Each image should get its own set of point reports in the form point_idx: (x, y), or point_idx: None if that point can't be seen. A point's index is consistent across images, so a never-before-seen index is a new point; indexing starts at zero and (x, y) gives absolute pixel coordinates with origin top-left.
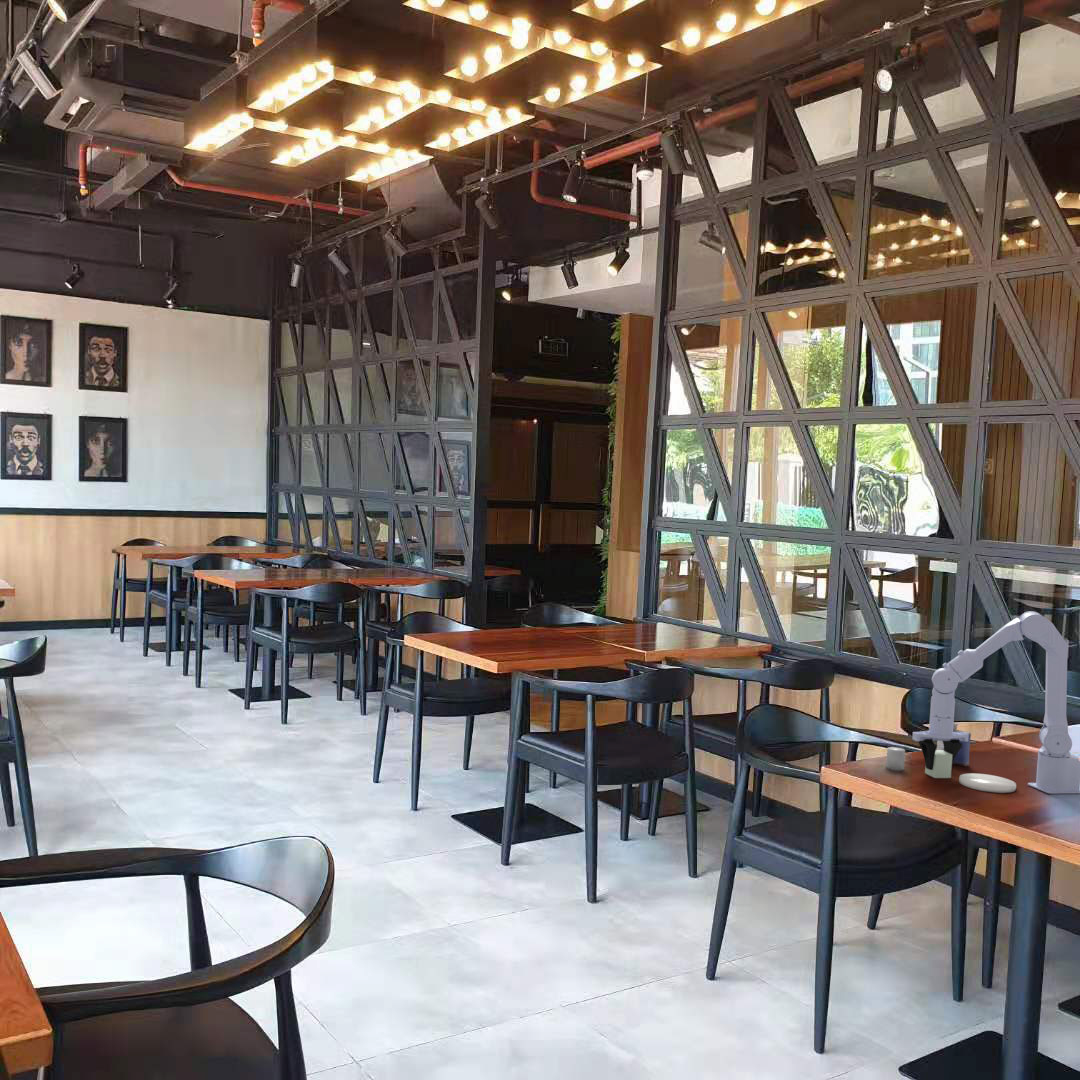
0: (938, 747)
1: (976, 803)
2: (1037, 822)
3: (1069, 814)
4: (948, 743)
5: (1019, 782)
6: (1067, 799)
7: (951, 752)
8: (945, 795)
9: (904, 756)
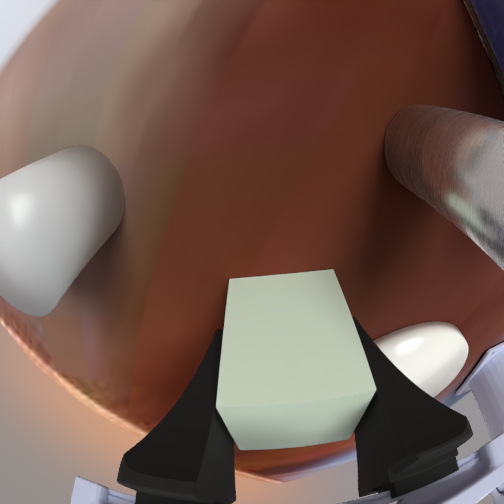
0: (482, 209)
1: (248, 452)
2: (294, 471)
3: None
4: (378, 472)
5: (496, 329)
6: (452, 403)
7: (357, 439)
8: None
9: (79, 270)
